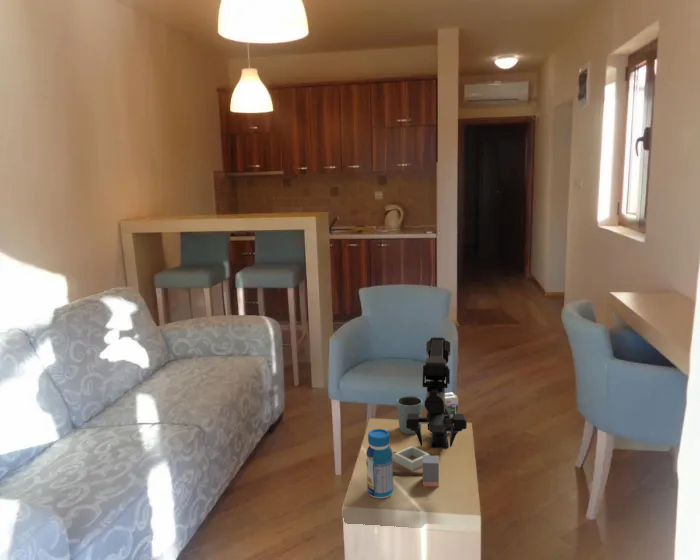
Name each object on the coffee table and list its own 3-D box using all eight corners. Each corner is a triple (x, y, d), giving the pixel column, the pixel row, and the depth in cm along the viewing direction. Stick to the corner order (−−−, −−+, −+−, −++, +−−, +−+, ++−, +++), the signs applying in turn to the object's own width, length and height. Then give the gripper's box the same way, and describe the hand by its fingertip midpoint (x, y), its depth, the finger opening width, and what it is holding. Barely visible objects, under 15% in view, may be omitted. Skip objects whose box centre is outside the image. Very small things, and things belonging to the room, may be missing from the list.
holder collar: (394, 461, 195) (394, 453, 194) (412, 453, 200) (412, 445, 200) (412, 470, 188) (412, 462, 188) (430, 462, 193) (429, 454, 193)
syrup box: (444, 434, 217) (444, 398, 214) (438, 427, 222) (438, 393, 220) (458, 432, 218) (458, 396, 216) (451, 425, 224) (451, 391, 221)
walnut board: (392, 454, 202) (392, 451, 202) (432, 455, 200) (432, 452, 200) (391, 474, 188) (391, 471, 188) (433, 475, 187) (433, 472, 187)
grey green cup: (414, 437, 215) (413, 407, 213) (392, 430, 221) (391, 402, 219) (427, 427, 223) (427, 399, 221) (405, 421, 229) (405, 393, 227)
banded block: (422, 477, 186) (422, 455, 184) (438, 478, 185) (438, 455, 184) (423, 486, 181) (422, 462, 179) (438, 486, 180) (438, 463, 179)
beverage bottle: (385, 502, 172) (384, 441, 169) (362, 495, 177) (360, 435, 173) (398, 489, 179) (397, 430, 176) (375, 482, 184) (373, 425, 180)
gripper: (405, 410, 170) (406, 458, 173) (468, 410, 168) (468, 459, 171) (405, 396, 181) (406, 441, 184) (464, 396, 179) (464, 441, 182)
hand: (436, 446), depth 180 cm, fingers open, 9 cm apart
